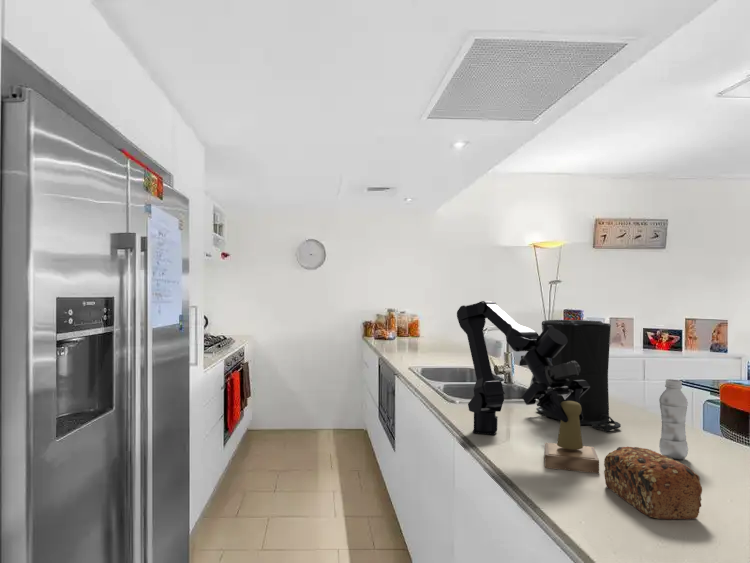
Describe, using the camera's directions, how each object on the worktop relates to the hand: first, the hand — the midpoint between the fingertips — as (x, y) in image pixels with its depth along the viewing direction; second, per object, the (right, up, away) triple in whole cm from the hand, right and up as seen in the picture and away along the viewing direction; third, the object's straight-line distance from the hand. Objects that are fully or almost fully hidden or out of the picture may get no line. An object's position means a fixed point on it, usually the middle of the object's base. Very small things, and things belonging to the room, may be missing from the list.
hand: (574, 420), depth 134 cm
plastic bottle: (+28, -12, +7) cm, 31 cm away
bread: (+6, -11, -24) cm, 27 cm away
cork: (-1, -7, +1) cm, 7 cm away
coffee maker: (+17, -13, +50) cm, 54 cm away
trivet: (-1, -11, +1) cm, 11 cm away
